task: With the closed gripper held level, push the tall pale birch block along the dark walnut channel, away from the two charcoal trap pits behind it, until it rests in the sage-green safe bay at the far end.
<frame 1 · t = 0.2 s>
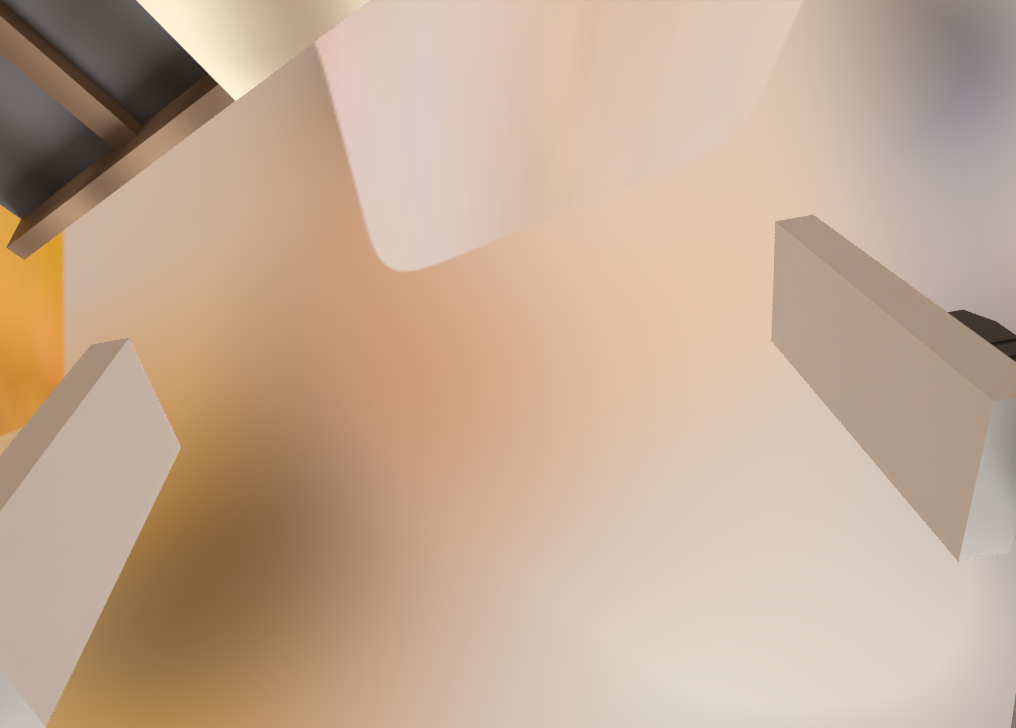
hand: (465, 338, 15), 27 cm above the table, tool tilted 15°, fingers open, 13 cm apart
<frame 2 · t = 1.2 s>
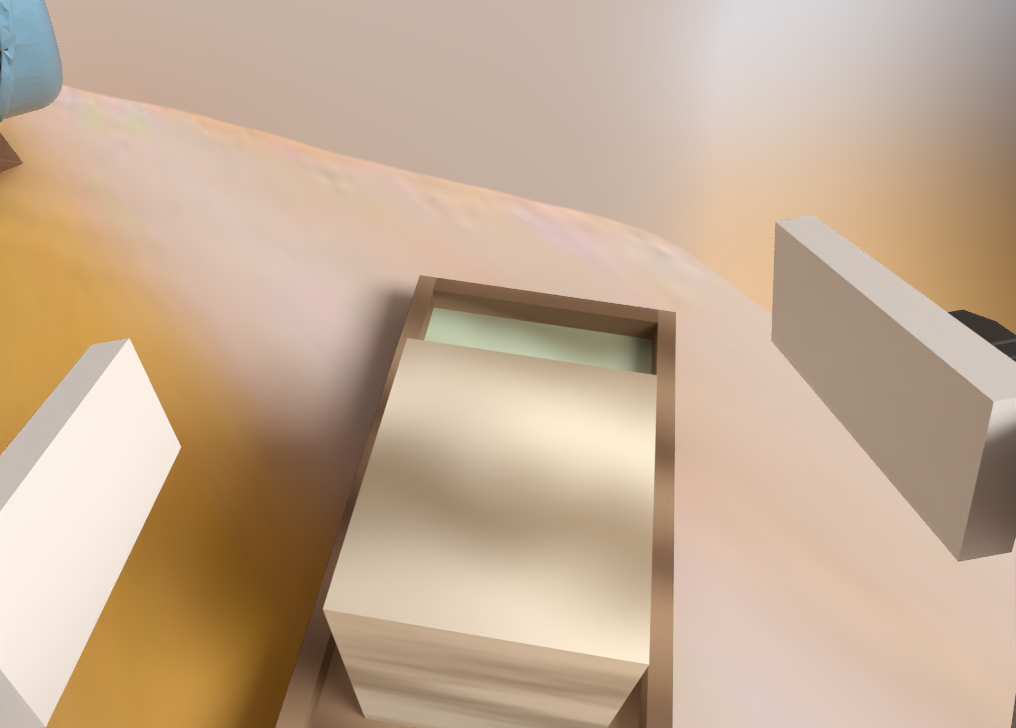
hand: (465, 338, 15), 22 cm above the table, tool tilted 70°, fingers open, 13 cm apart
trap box: (480, 707, 32), on the table
birch block: (495, 614, 33), point 1 cm above the table, touching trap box
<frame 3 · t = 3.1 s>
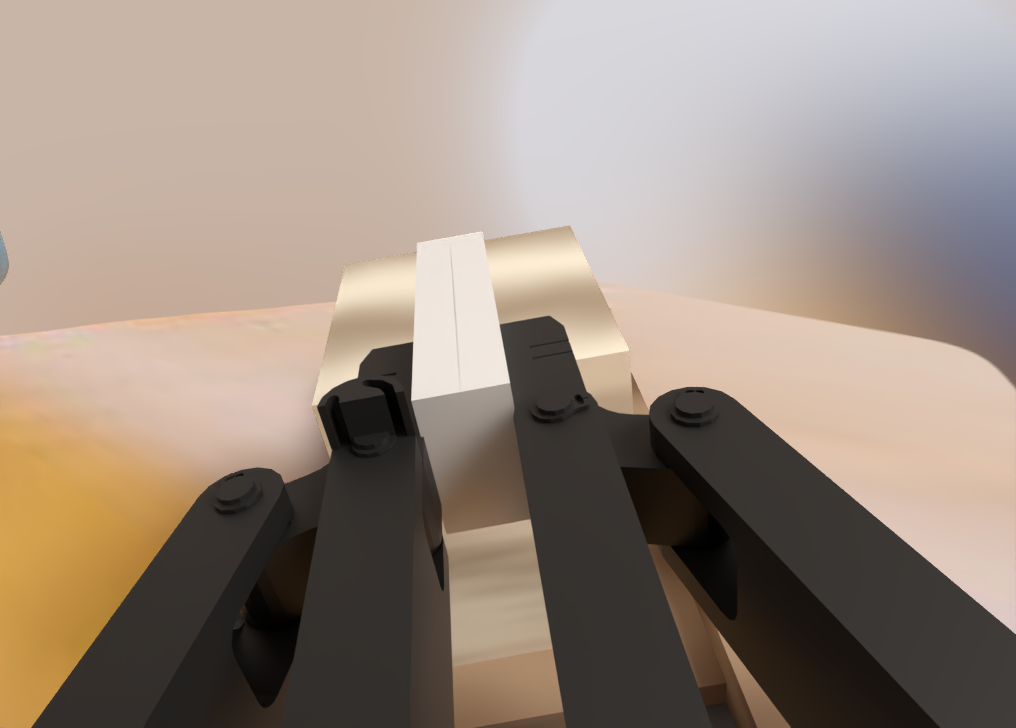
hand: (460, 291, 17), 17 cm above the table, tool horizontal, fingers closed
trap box: (527, 645, 29), on the table
birch block: (513, 553, 31), point 1 cm above the table, touching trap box
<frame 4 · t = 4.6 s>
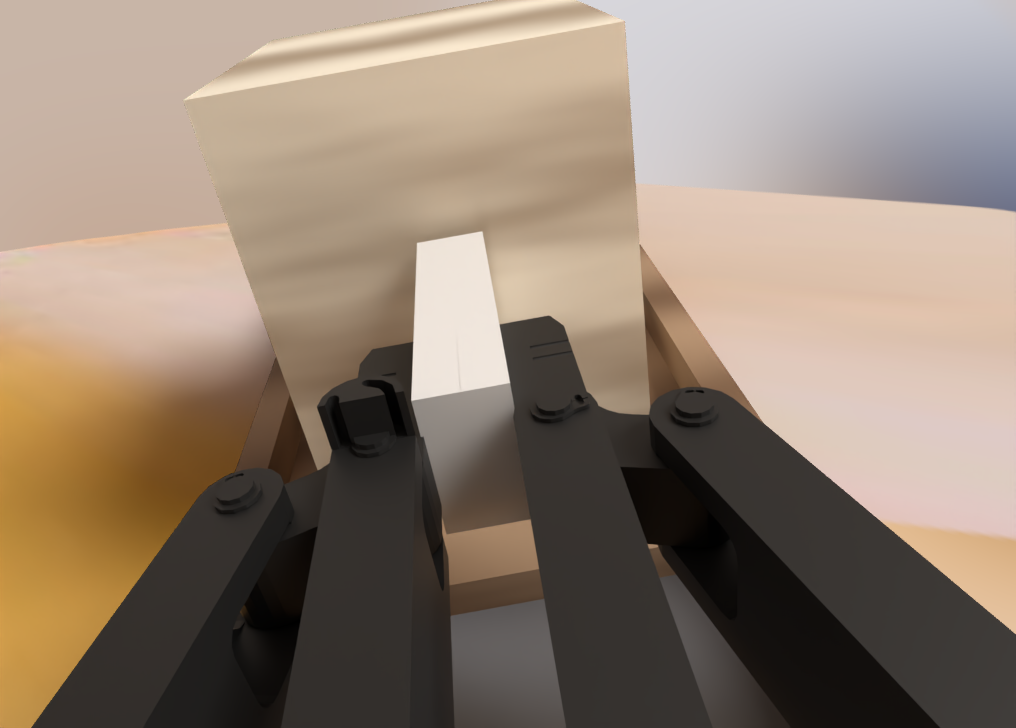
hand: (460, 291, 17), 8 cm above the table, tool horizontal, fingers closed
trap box: (502, 512, 23), on the table
birch block: (486, 411, 25), point 1 cm above the table, touching gripper, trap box
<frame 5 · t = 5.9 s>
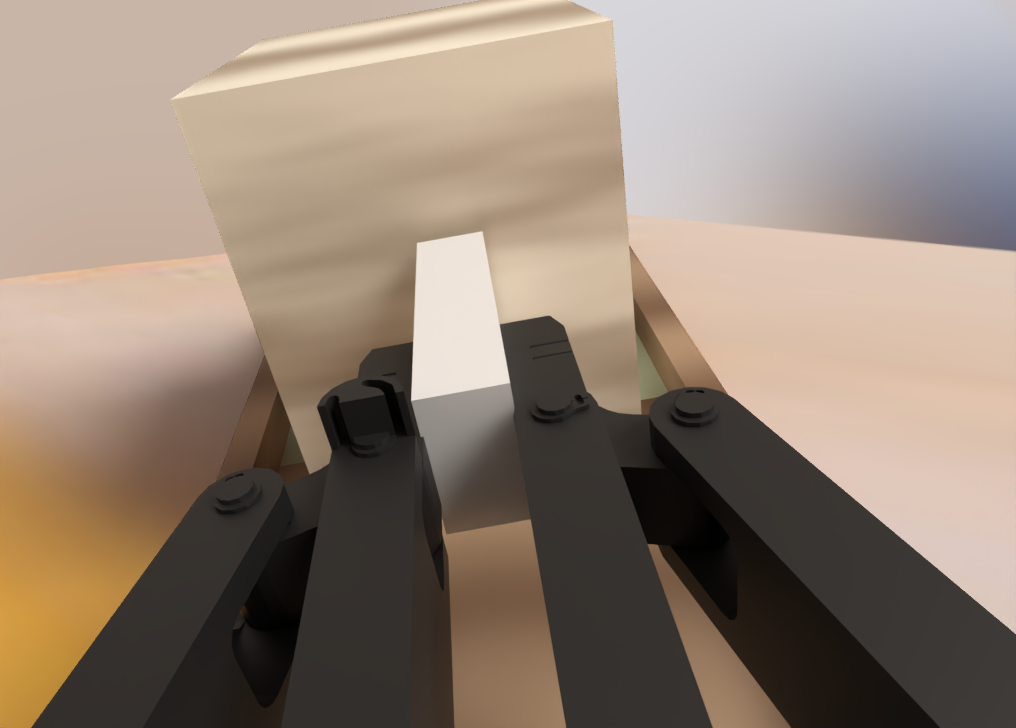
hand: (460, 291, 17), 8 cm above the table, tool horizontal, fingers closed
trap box: (508, 704, 17), on the table
birch block: (478, 410, 25), point 2 cm above the table, touching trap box
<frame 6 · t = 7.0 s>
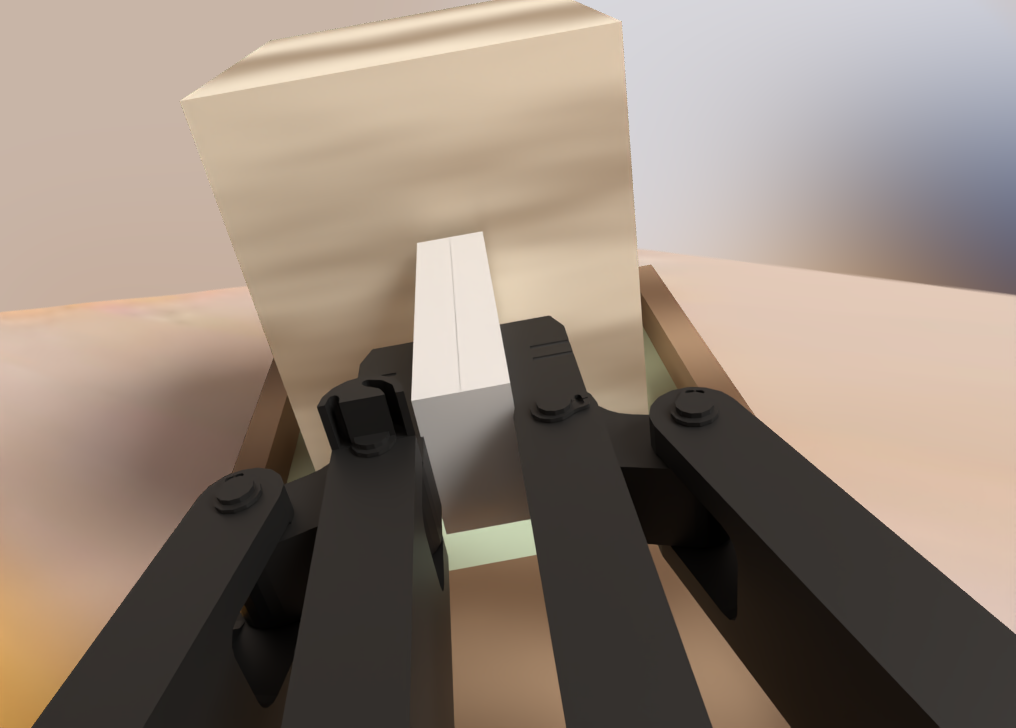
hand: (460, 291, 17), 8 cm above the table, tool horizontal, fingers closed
birch block: (484, 411, 25), point 2 cm above the table, touching gripper, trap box
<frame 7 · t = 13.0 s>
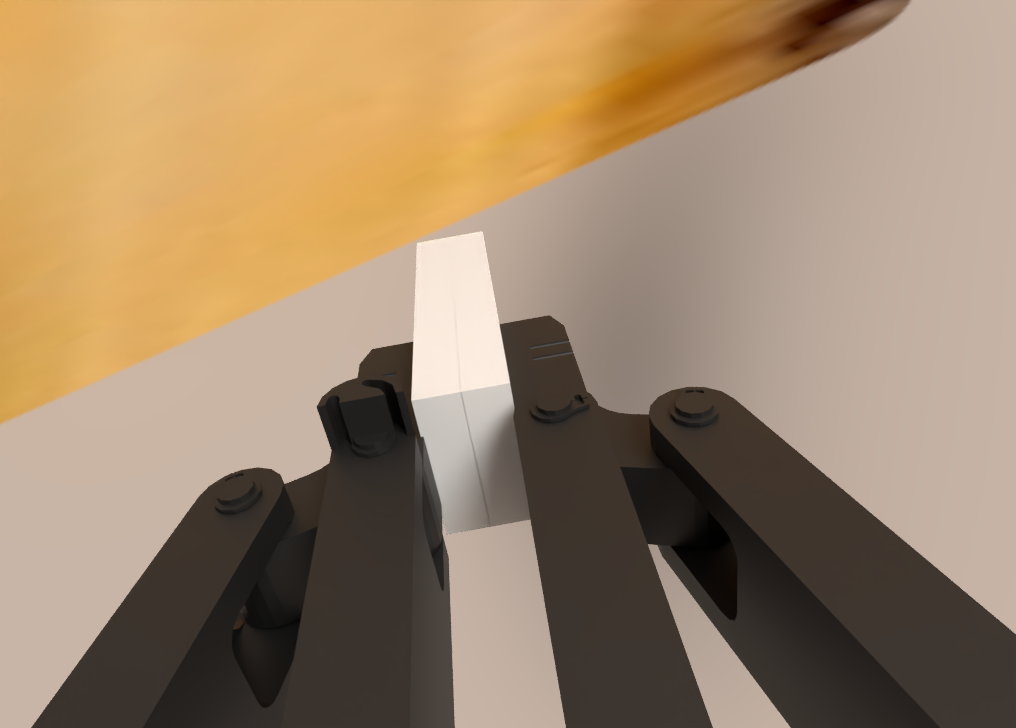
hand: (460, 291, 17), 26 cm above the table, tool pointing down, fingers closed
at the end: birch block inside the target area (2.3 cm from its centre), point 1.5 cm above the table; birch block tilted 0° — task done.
